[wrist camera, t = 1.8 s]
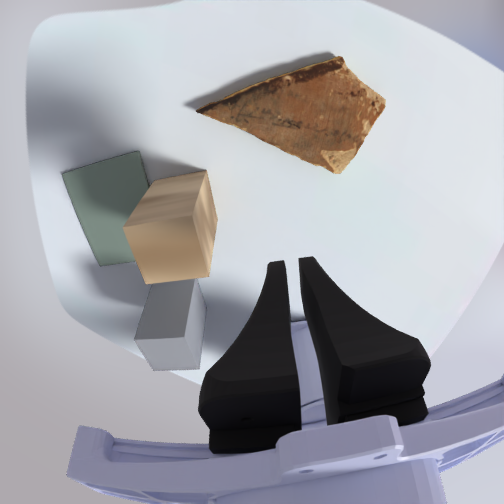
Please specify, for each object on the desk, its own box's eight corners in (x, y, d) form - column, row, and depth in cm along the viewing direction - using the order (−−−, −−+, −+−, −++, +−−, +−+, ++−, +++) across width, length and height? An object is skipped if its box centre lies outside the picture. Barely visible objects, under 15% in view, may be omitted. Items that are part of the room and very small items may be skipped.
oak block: (217, 219, 23) (209, 276, 18) (168, 227, 24) (145, 284, 18) (206, 170, 21) (191, 215, 15) (154, 180, 22) (122, 227, 16)
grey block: (206, 308, 29) (199, 369, 23) (167, 312, 29) (153, 370, 23) (195, 275, 26) (184, 337, 21) (153, 280, 27) (133, 339, 21)
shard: (198, 108, 19) (194, 112, 18) (247, 12, 15) (247, 7, 14) (334, 173, 22) (341, 182, 20) (385, 89, 18) (396, 91, 17)
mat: (171, 254, 25) (170, 256, 25) (101, 264, 26) (100, 266, 25) (138, 150, 20) (137, 151, 20) (63, 173, 21) (61, 174, 20)
